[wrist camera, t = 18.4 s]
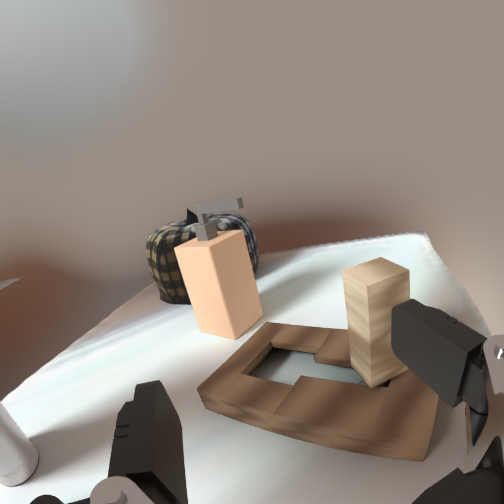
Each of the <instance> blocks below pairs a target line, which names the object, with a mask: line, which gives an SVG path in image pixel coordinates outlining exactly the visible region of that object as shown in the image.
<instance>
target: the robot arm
mask: <svg viewBox="0 0 504 504" xmlns="http://www.w3.org/2000/svg"><path fill="white" fill-rule="evenodd" d="M391 347H392V350H393V352H394V354H395V356H396V357H397V358H398V359H399V360H400V361H401V362H402V363H403V364H405V365H406V366H407V367H408V368H409V369H410V370H411V371H412V372H413V373H415V374H416V375H417V376H418V377H419V378H420V379H421V380H422V381H423V382H424V383H426V384H427V385H428V386H429V387H430V388H431V389H432V390H433V391H434V392H435V393H436V394H438V395H439V396H440V397H441V398H442V399H443V400H444V401H445V402H446V403H447V404H448V405H450V406H451V407H452V408H454V407H455V406H457V405H458V404H460V403H461V402H462V401H465V402H466V403H467V404H466V408H465V415H466V429H467V458H466V462H465V465H464V469H463V472H462V471H461V470H460V469H459V468H457V469H455V470H454V471H452V472H451V473H450V474H448V475H447V476H446V477H444V478H443V479H441V480H440V481H438V482H437V483H435V484H434V485H432V486H431V487H429V488H428V489H426V490H425V491H424V492H423V493H422V494H421V495H420V496H419V497H418V498H417V499H416V500H415V501H414V502H413V503H412V504H504V335H495V336H492V337H490V338H488V339H487V338H486V337H484V336H483V335H481V334H479V333H478V332H476V331H475V330H473V329H471V328H470V327H468V326H466V325H465V324H463V323H462V322H458V320H457V319H455V318H453V317H450V315H448V314H447V313H445V312H443V311H442V310H440V309H436V308H432V307H429V306H425V305H423V304H421V303H420V302H418V301H416V300H415V299H409V300H407V301H404V302H402V303H400V304H398V305H395V306H394V307H393V308H392V311H391ZM114 438H115V439H113V445H112V451H111V458H110V464H109V472H108V478H106V479H104V480H102V481H101V482H99V483H98V484H97V485H96V486H95V487H94V489H93V490H92V492H91V496H90V497H89V498H87V499H83V500H79V501H76V502H72V503H68V504H188V498H187V488H186V477H185V466H184V453H183V438H182V427H181V422H180V419H179V416H178V414H177V412H176V410H175V408H174V406H173V404H172V402H171V400H170V398H169V396H168V394H167V392H166V390H165V388H164V386H163V385H162V383H161V382H160V381H159V380H157V381H152V382H147V383H142V384H137V385H136V388H135V394H134V400H133V401H130V402H126V403H125V404H124V406H123V407H122V409H121V410H120V412H119V413H118V416H117V422H116V429H115V433H114ZM37 464H38V451H37V449H36V447H35V446H34V445H33V444H32V443H31V441H30V440H29V439H28V438H27V437H26V435H25V434H24V433H23V432H22V430H21V429H20V428H19V426H18V425H17V424H16V422H15V421H14V420H13V418H12V417H11V416H10V414H9V413H8V411H7V410H6V409H5V407H4V406H3V404H2V403H1V401H0V483H2V484H4V485H7V486H15V485H18V484H20V483H22V482H24V481H25V480H27V479H28V478H29V477H30V476H31V475H32V473H33V472H34V470H35V469H36V466H37ZM30 504H64V503H63V502H62V501H60V500H59V499H58V498H57V497H55V496H52V495H42V496H39V497H37V498H35V499H34V500H33V501H32V502H31V503H30Z"/></svg>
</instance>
